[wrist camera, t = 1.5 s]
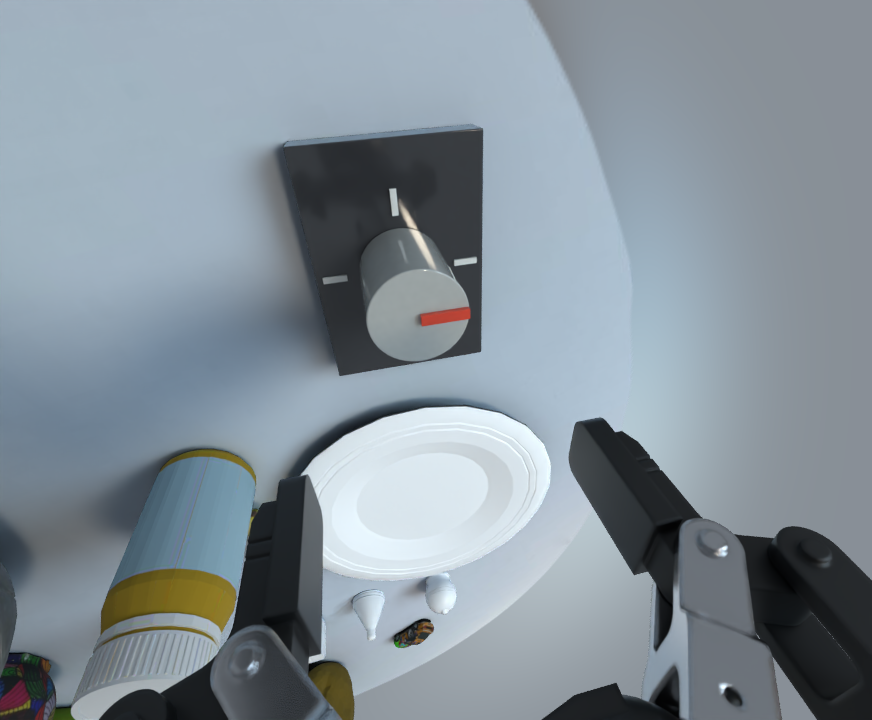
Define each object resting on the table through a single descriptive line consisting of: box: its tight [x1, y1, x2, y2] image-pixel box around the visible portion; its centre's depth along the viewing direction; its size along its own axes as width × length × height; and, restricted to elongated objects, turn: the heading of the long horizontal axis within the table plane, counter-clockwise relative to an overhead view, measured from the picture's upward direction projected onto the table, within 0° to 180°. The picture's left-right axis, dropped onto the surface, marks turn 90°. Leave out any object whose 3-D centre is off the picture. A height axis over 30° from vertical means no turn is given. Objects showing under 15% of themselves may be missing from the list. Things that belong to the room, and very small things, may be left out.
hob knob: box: [359, 228, 470, 361], centre depth 22 cm, size 5×5×6 cm
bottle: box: [71, 449, 256, 720], centre depth 27 cm, size 7×7×15 cm
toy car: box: [394, 619, 434, 648], centre depth 56 cm, size 3×6×2 cm, turn 131°
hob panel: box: [283, 124, 483, 376], centre depth 25 cm, size 14×10×2 cm
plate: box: [299, 405, 551, 581], centre depth 39 cm, size 25×25×2 cm
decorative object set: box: [309, 573, 457, 663], centre depth 48 cm, size 5×20×4 cm, turn 96°
